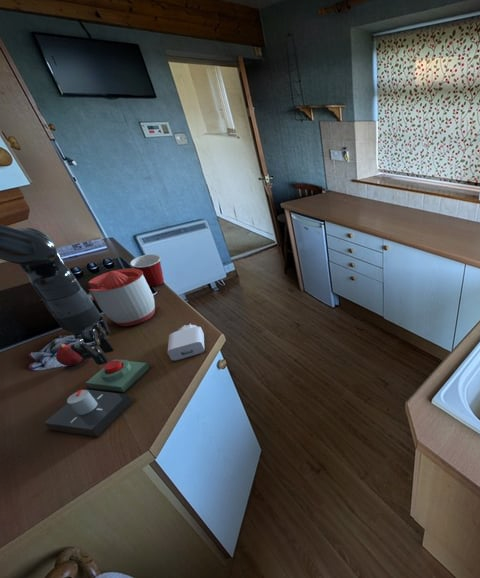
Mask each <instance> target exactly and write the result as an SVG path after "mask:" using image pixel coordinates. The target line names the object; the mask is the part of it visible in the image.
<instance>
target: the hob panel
mask: <svg viewBox="0 0 480 578" xmlns="http://www.w3.org/2000/svg"><path fill="white" fill-rule="evenodd" d="M83 390H88V391H89V393H90V394H91V395H92V396H93V398H94V399H95V400H96V401H97V403H98V404H97V406H96V408H95V409H94V410H92V411H91V412H89V413H87V414H84V415H78V414H77V413H76V412H75V411H74V410H73V408H72V407H71V406H70V405H69V404H68V403H67V402H66V404H65V405H63V406H62V407H61V408H60V409H58V411H56V412H55V413H54V414H52V415H51V416H50V417H49V418H47V419H46V420H45V421H44V422H43V424H44V425H45V426H46V427H47V428H48V429H49V430H50V431H56V432H63V433H68V434H69V433H70V434H76V435H82V436H83V435H84V436H90V437H95V438H98V437H99V436H100V435H102V433H103V432H104V431H105V430H107V428H108V427H109V426H110V425H111V424H112V423H113V422H114V421H115V420H117V418H118V417H119V416H120V415H121V414H122V413H123V412H124V411H125V410H126V409H127V408H128V407H129V406H130V405H131V404H132V403H133V400H132V398H130V396H129V395H128V394H126V393H118V392H117V393H116V392H111V391H110V392H109V391H102V390H101V391H100V390H93V389H83Z"/></svg>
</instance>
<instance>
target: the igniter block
mask: <svg viewBox="0 0 480 578" xmlns="http://www.w3.org/2000/svg"><path fill="white" fill-rule="evenodd" d="M115 360H116V359H115V358H114V359H113V360H112V361H115ZM117 360H118V361H120V362H121V364H122V366H123V367H122V368H121V369H120V370H119V371H117V372H115V373H111V374H108V373H107V372H106V371H105V369H104V367H103V368H101V369H100V370H99V371H98V372H96V373H95V374H94V375H92V377H90V378H89V379H88V380H87V381H85V384H86V386H87V387H88V388H89V389H96V390H104V391H110V392H111V391H113V392H121V393H125V392H127V390H128V389H129V388H130V387H131V386H132V385H133V384H135V382H137V381H138V380H139V379H140V378H141V377H142V376H143V375H144V374H145V373H146V372H147V371H148V370H149V369H150V366H149V365H148V362H143V361H132V360H127V359H117Z"/></svg>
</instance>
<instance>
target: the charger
mask: <svg viewBox="0 0 480 578" xmlns="http://www.w3.org/2000/svg"><path fill="white" fill-rule="evenodd" d="M204 352H205V334H204V331H203V328H202V327H201V326H197V324H192V323H188V325H186V324H184V325H183V326H181V327H180V328H179V329H177V331H173V332H171V333H170V334H169V335H168V343H167V355H168V357H169V359H170V360H171V361H179V360H182V359H186V358H189V357H192V356H195V355H199V354H200V355H201V354H202V353H204Z"/></svg>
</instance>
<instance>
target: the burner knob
mask: <svg viewBox="0 0 480 578" xmlns="http://www.w3.org/2000/svg"><path fill="white" fill-rule="evenodd" d="M88 390H89V389H86V390H84V389H81V388H80V389H79V390H78V391H76V392H74V393H71V394H70V395H69V397H68V398H67V399H66V404H67V403H68V404H69V405H70V406H71V407H72V408H73V410H74V411H75V412H76V413H77V414H78V415H84V414H87V413H89V412H91V411H92V410H94V409H95V408H96V406H97V404H98V403H97V401H96V400H95V399H94V398H93V396H92V395H91V394H90V393H89V391H88Z"/></svg>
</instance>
